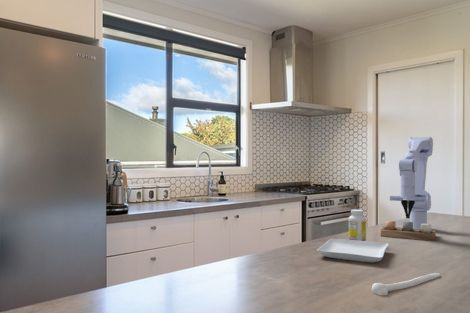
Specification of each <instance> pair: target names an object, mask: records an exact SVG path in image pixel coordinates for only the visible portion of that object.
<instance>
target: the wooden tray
mask: <svg viewBox="0 0 470 313" xmlns="http://www.w3.org/2000/svg"><path fill="white" fill-rule="evenodd" d="M380 237H387V238H398V239H399V238H400V239H409V240H417V241H418V240H420V241H430V242H431V241H432V242H436V240H437V234H436V230H435V229H431V233H422V232H421V229H413V231H404V230H403V227H399V226H395V230H386V225H385V226H384V225H383V226H382V228H381V229H380Z"/></svg>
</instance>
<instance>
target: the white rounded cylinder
mask: <svg viewBox="0 0 470 313" xmlns="http://www.w3.org/2000/svg"><path fill="white" fill-rule="evenodd" d="M431 230H432V224H431V223H430V224H429V223H427V224H421V232H422V233H431Z"/></svg>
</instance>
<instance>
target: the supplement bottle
mask: <svg viewBox="0 0 470 313" xmlns="http://www.w3.org/2000/svg"><path fill="white" fill-rule="evenodd" d="M350 214H351V215H350V216H349V217H348V240H357V241H367V229H366V228H367V227H366V226H367V219H366V216H364V210H363V209H351V210H350Z"/></svg>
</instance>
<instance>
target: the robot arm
mask: <svg viewBox="0 0 470 313" xmlns="http://www.w3.org/2000/svg"><path fill="white" fill-rule="evenodd" d="M433 140H434V139H433V137H432V136H425V137H424V136H421V137H417V136H416V137H413V136H411V137H409V139H408V148H409V150H407V151H406V153H405V156H404V157H403V158H401V159H400V160H399V162H398V171H399V176H400V195H390V196H389V201H391V202H393V201H395V202H396V201H397V202H398V201H399V202H400V203H401V206H402V207H403V208H402V209H403V210H404V213H405V219H409V222H413V229H421V224H428V211H430V210H431V208H432V207H431V206H432V200H431V198H432V196H431V194H430V193H429V192H428V191H426V179H427V177H426V176H427V164H428V159H429V157H430V156H433V150H434V141H433Z"/></svg>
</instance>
